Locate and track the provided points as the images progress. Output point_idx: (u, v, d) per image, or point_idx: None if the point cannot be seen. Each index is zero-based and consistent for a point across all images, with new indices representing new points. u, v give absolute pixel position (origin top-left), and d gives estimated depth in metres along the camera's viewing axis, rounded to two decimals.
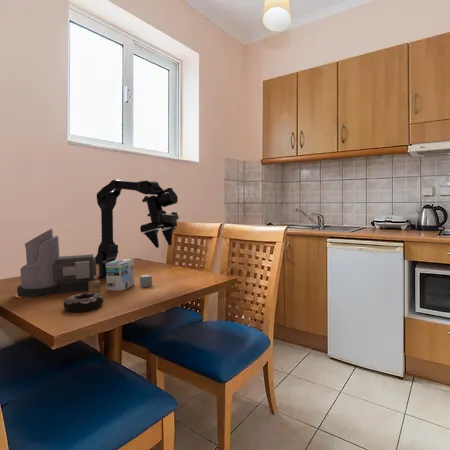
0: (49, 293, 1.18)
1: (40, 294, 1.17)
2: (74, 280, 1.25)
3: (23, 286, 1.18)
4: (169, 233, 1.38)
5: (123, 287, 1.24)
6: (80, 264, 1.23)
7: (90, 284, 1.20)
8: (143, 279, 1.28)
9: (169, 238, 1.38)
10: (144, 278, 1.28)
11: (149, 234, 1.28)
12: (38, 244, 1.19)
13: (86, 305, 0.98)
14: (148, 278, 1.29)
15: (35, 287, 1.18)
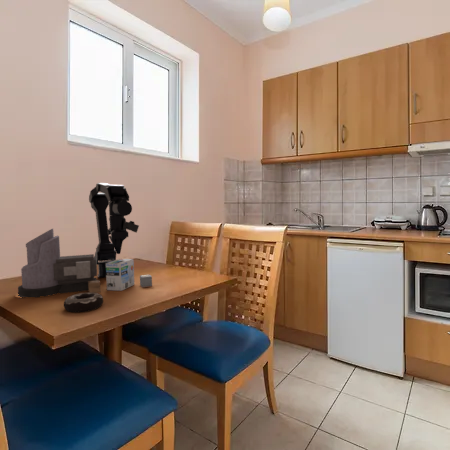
0: (50, 292, 1.18)
1: (41, 294, 1.17)
2: (75, 280, 1.25)
3: (24, 286, 1.18)
4: None
5: (123, 287, 1.24)
6: (81, 264, 1.23)
7: (90, 284, 1.20)
8: (143, 279, 1.28)
9: None
10: (144, 278, 1.28)
11: (115, 240, 1.28)
12: (39, 244, 1.19)
13: (86, 305, 0.98)
14: (148, 278, 1.29)
15: (36, 287, 1.18)
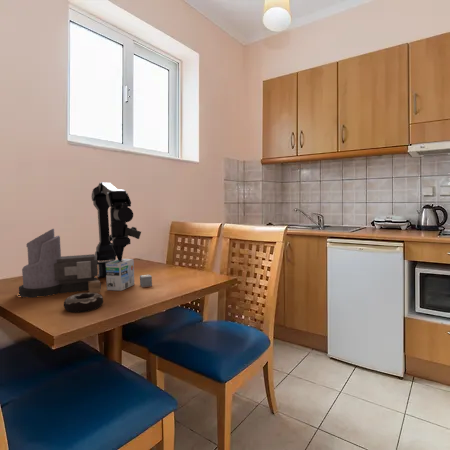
0: (50, 292, 1.19)
1: (42, 294, 1.17)
2: (76, 280, 1.25)
3: (25, 286, 1.19)
4: None
5: (123, 287, 1.24)
6: (82, 264, 1.23)
7: (90, 284, 1.20)
8: (143, 279, 1.28)
9: None
10: (144, 278, 1.28)
11: (116, 246, 1.25)
12: (39, 244, 1.19)
13: (86, 305, 0.98)
14: (148, 278, 1.29)
15: (37, 287, 1.18)
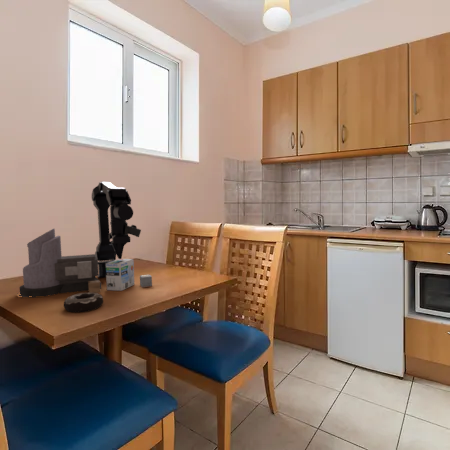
0: (51, 292, 1.19)
1: (42, 294, 1.17)
2: (76, 280, 1.25)
3: (25, 286, 1.19)
4: None
5: (123, 287, 1.24)
6: (82, 264, 1.23)
7: (90, 284, 1.20)
8: (143, 279, 1.28)
9: None
10: (144, 278, 1.28)
11: (116, 244, 1.25)
12: (40, 244, 1.19)
13: (86, 305, 0.98)
14: (148, 278, 1.29)
15: (37, 287, 1.18)
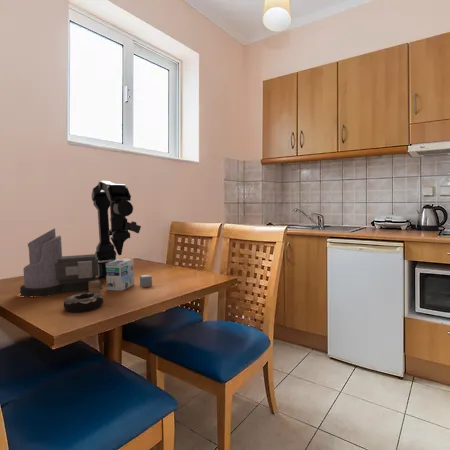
0: (51, 292, 1.19)
1: (43, 294, 1.17)
2: (77, 280, 1.26)
3: (26, 286, 1.19)
4: None
5: (123, 287, 1.24)
6: (83, 264, 1.23)
7: (90, 284, 1.20)
8: (143, 279, 1.28)
9: None
10: (144, 278, 1.28)
11: (116, 240, 1.25)
12: (41, 244, 1.19)
13: (86, 305, 0.98)
14: (148, 278, 1.29)
15: (38, 287, 1.18)
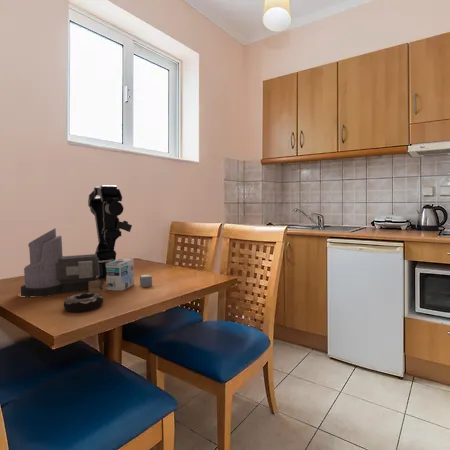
0: (52, 292, 1.19)
1: (43, 294, 1.17)
2: (77, 280, 1.26)
3: (27, 286, 1.19)
4: None
5: (123, 287, 1.24)
6: (83, 264, 1.23)
7: (90, 284, 1.20)
8: (143, 279, 1.28)
9: None
10: (144, 278, 1.28)
11: (108, 239, 1.33)
12: (41, 244, 1.19)
13: (86, 305, 0.98)
14: (148, 278, 1.29)
15: (38, 287, 1.18)
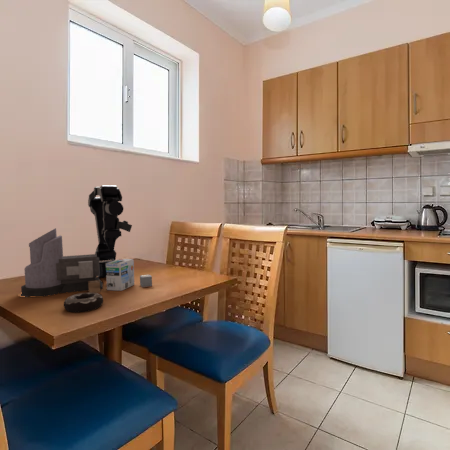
0: (52, 292, 1.19)
1: (44, 293, 1.17)
2: (77, 280, 1.26)
3: (27, 285, 1.19)
4: None
5: (123, 287, 1.24)
6: (83, 264, 1.23)
7: (90, 284, 1.20)
8: (143, 279, 1.28)
9: None
10: (144, 278, 1.28)
11: (108, 239, 1.33)
12: (42, 244, 1.19)
13: (86, 305, 0.98)
14: (148, 278, 1.29)
15: (39, 286, 1.18)
